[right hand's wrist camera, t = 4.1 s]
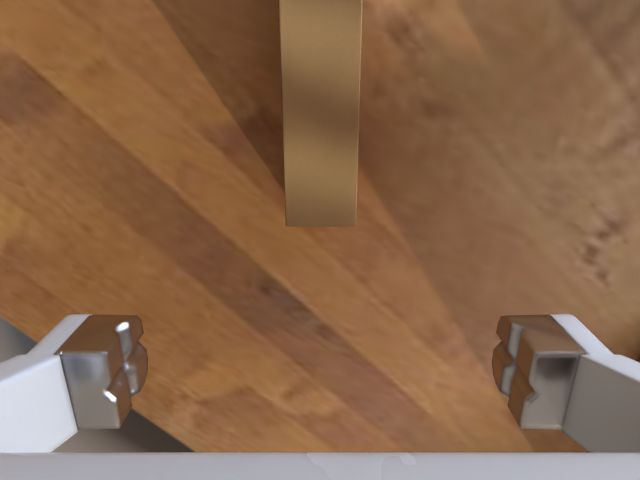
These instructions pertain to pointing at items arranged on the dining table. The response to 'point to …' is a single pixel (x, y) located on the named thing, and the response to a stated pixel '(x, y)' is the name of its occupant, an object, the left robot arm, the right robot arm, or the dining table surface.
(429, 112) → the dining table surface
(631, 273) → the dining table surface
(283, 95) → the beam
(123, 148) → the dining table surface
